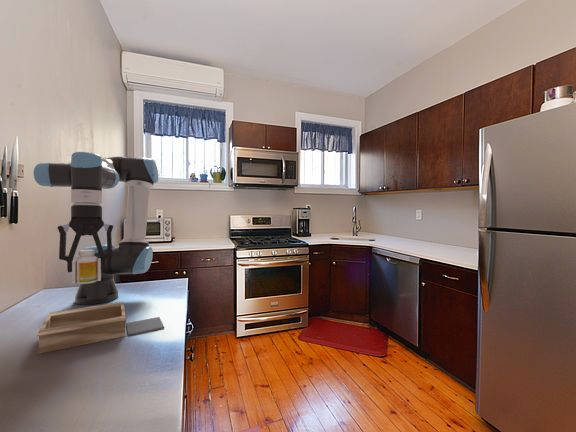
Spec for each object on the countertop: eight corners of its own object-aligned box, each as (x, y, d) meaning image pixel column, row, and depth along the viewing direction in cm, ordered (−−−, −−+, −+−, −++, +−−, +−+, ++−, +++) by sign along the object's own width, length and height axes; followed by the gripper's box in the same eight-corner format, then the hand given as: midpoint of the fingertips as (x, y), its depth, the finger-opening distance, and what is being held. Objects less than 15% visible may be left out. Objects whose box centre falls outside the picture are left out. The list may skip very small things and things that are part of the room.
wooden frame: (49, 331, 85) (49, 312, 84) (123, 318, 95) (123, 301, 95) (36, 358, 69) (36, 335, 69) (125, 339, 80) (126, 319, 80)
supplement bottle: (102, 280, 84) (102, 249, 84) (84, 285, 79) (84, 252, 79) (89, 279, 86) (89, 248, 86) (71, 283, 81) (71, 250, 80)
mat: (126, 324, 90) (126, 322, 90) (159, 318, 96) (159, 316, 96) (128, 336, 82) (128, 334, 82) (164, 328, 88) (164, 326, 88)
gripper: (43, 203, 74) (44, 288, 74) (123, 205, 84) (123, 280, 84) (48, 204, 80) (49, 282, 80) (122, 205, 90) (122, 275, 90)
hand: (87, 281), depth 82 cm, fingers closed on supplement bottle, 5 cm apart
